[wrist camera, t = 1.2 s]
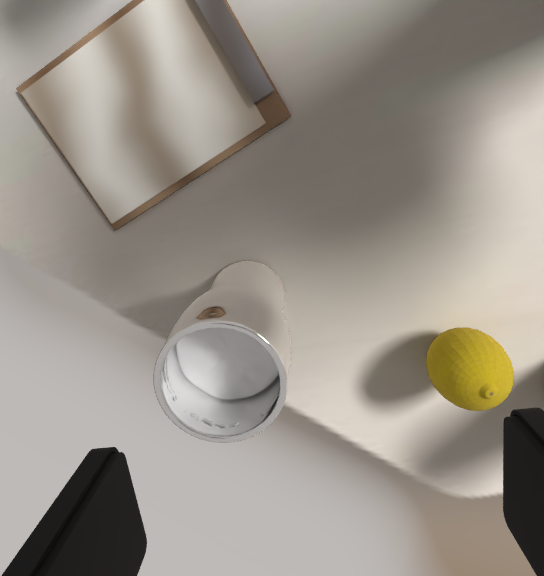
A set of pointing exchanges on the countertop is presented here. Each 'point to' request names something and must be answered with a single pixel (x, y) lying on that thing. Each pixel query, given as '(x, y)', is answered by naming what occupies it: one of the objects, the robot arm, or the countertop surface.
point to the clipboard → (153, 101)
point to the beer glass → (228, 357)
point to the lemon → (470, 369)
